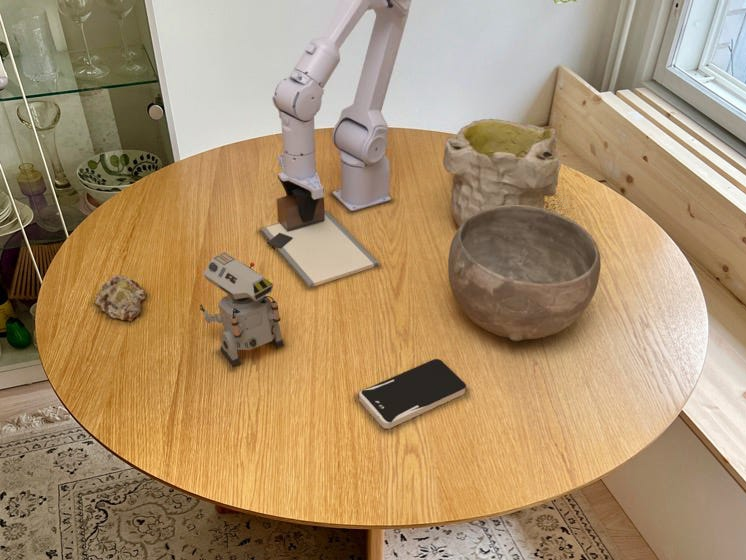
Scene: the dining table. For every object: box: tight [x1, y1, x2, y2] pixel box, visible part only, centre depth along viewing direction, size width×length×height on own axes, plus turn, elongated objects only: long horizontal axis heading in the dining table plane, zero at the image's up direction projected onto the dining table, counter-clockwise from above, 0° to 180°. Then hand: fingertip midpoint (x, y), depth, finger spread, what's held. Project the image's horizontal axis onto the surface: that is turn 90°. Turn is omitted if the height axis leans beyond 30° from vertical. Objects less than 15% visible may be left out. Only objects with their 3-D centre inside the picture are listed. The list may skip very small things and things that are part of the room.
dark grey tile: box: [266, 233, 293, 249], centre depth 139 cm, size 4×3×1 cm
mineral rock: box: [94, 274, 147, 322], centre depth 125 cm, size 11×4×8 cm
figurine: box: [199, 251, 284, 368], centre depth 115 cm, size 9×12×15 cm
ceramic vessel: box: [442, 118, 562, 228], centre depth 141 cm, size 23×24×25 cm
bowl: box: [447, 205, 602, 342], centre depth 122 cm, size 24×24×15 cm
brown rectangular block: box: [276, 194, 326, 232], centre depth 143 cm, size 8×4×5 cm, turn 121°
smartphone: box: [358, 358, 467, 430], centre depth 112 cm, size 8×1×15 cm
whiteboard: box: [260, 209, 379, 289], centre depth 139 cm, size 14×20×1 cm
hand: (302, 214), depth 144 cm, fingers closed on brown rectangular block, 4 cm apart
